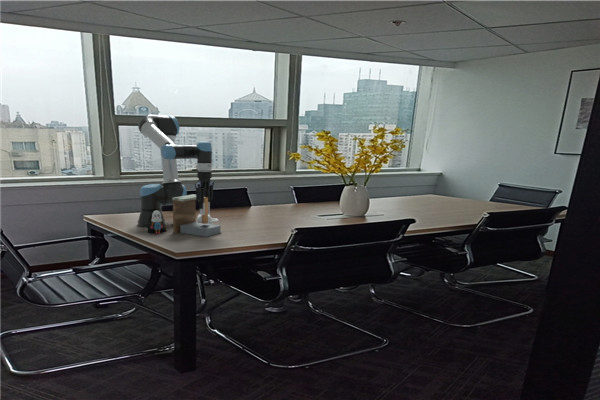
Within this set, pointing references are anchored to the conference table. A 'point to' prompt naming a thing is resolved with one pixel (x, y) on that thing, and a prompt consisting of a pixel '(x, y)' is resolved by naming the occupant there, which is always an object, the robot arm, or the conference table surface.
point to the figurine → (156, 224)
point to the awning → (183, 211)
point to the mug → (210, 220)
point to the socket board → (200, 229)
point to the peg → (205, 217)
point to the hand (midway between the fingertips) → (204, 213)
